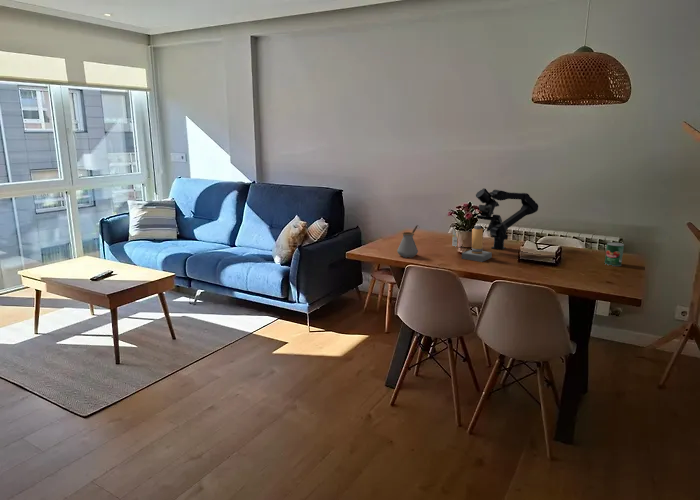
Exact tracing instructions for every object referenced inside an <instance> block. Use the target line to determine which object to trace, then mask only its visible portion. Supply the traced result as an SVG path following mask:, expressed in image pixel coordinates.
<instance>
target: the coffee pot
mask: <svg viewBox="0 0 700 500" xmlns="http://www.w3.org/2000/svg"><path fill="white" fill-rule="evenodd" d="M418 228H419V225H418V224H416V225H415V226H414V228H413V230H412V232H409V231H408V232H405V231H404V232H402V233H401V234H402V239H401V241H400V243H399V246H398V248H397V251H396V252H397V254H398V255H399V256H400V255H401V256H403V257H402V258H407V257H410V258H414V257H415V256H416V255H418V253H419V250H418V247H417V245H416V243H415V239H414V236H415V232H416V231H417V229H418ZM401 256H400V257H401Z"/></svg>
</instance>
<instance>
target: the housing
mask: <svg viewBox="0 0 700 500" xmlns="http://www.w3.org/2000/svg"><path fill="white" fill-rule="evenodd" d="M483 236H484V229H483V228H482V226H481V225H475V226H474V228H473V229H472V228H471V249H472V253H482V251H484V250H483V249H484V248H483V241H484V240H483Z"/></svg>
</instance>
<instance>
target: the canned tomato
mask: <svg viewBox="0 0 700 500" xmlns="http://www.w3.org/2000/svg"><path fill="white" fill-rule="evenodd" d="M624 247H625V244H624V243H621V242H615V241H614V242H613V241H609V242H607V243H606V249H605V256H604V257H605V258H604V263H605V264H604V265H606V264H607V266H609V265H612V266H611V267H622V261H623V255H624Z"/></svg>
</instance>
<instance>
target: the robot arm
mask: <svg viewBox="0 0 700 500" xmlns="http://www.w3.org/2000/svg"><path fill="white" fill-rule="evenodd" d="M475 198H477V199H478V200H479V201H480V202H481V203H482V204H479V205H478V207H477V209H478V208H479V210H480V211H482V213H479V214H477V212H474V211H473V212H474V213H475V214H477V217H478V220H483V221H490V223H489V224H488V226H487V229H486V232H489V233H490V236H491V238H493V246H491V247H490V248H491V249H494V250H504V249H506V247H505V246H504V245H505V240H507V239H508V238H509V235H508V234H507V231H508V229H509V228H511V227H512V226H513V225H515V224H516V223H517V222H519V221H520V220H521V219H524V218H525V217H526V216H529V215H533V214H536V213H537V212H538V210H539V204H538V203H537V202H536V201H535V200H534V199H533V197H531V196H530V194H529V193H526V192H511V191H505V190H501V189H493V190H492V191H488V190H487V189H486V188H482V189H480V190H479V191H477V192H476V194H475ZM506 200H520V201H521V203H520V204H521V207H520V209H519V210H518V211H516V212H514V213H513V214H512V215H510V216H509V217H508V218H506V219H505V220H503V219H502V217H501V214H494V210H495V208H496V207H500V204H499V202H498V201H506ZM480 211H479V212H480ZM476 224H477V223H476ZM476 224H475V226H477V225H476Z"/></svg>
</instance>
